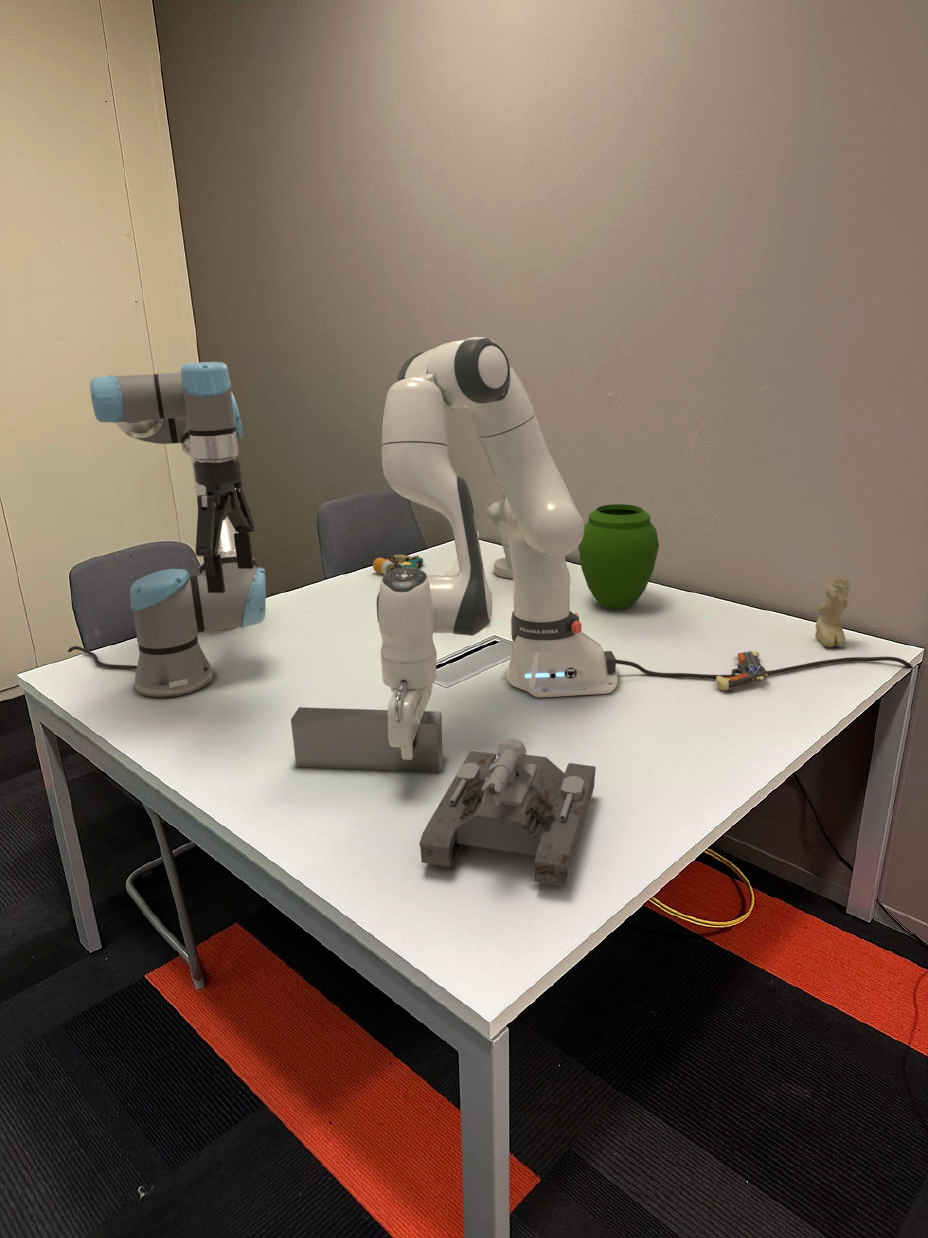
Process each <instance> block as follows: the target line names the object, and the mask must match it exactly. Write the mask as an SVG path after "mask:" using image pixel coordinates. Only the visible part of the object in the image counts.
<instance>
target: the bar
mask: <svg viewBox="0 0 928 1238" xmlns="http://www.w3.org/2000/svg"><path fill="white" fill-rule="evenodd" d="M442 717H443V716H442V711H434V710H433V711H432V710H430V711H429V710H428V711H427V710H425V711H424V713H423V716H422V719H421V721H420V725H419V728H418V730H417V733H416V736H415V738H414V741H413V746H414V755H413V758H412V759H411V760H404V759H402V753H401V748H399V747H391V746H390V744H389V741H388V709H370V708H369V709H368V708H367V709H365V708H361V709H360V708H335V707H334V708H333V707H304V706H303V707H302V706H301V707H298V708H297V709H296V711H295V712H294V714H293V715H292V717H291V719H290V724H291V725H290V726H291V732H292V733H291V734H292V742H293V743H292V744H293V751H294V761H295V768H313V769H334V770H335V769H341V770H360V771H361V770H363V771H364V770H365V771H387V772H388V771H389V772H410V773H411V772H413V773H414V772H415V773H437V774H438V773H440V772H441V769H442V766H443V761H444V744H443V743H444V742H443V718H442ZM399 722H400V721H399Z"/></svg>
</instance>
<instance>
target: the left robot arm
mask: <svg viewBox="0 0 928 1238" xmlns="http://www.w3.org/2000/svg"><path fill="white" fill-rule="evenodd" d="M89 390H90V391H89V392H90V399H91V404H92V409H93V413H94V417H95V419H96V421H98V422H100V423H113V424H116V425H117V426H118V428H119V430H121V431H122V432H123V433H124V434H125V435H127V436H128V437H130V438H132V439H136V440H138V441H143V442H145V443H151V444H157V445H159V444H161V445H170V444H172V445H174V444H181V450H182V451H183V452H184V454H186V455H188V456H189V457H190V461H191V469H192V475H193V482H194V489H195V496H196V503H197V523H196V539H195V555H196V556H197V557H203V561H202V563H200V565H199V566H198V571H199V575H192V576H191V575H190V573H189V571H188V570H186V569H184V568H168V569H162V570H158V571H155V572H151V573H149V574H147V575H146V574H145V575H144V576H142V577H140V578H137V580H136V581H134V582H133V583H132V584H131V586H130V589H129V597H130V607H129V608H130V610H131V612H132V616H133V622H134V629H135V633H136V635H135V636H136V639H137V646H138V651H139V652H138V653H139V654H138V659H137V665H132V664H131V665H130V664H111V663H104V662H101V661H100V660H99V657H98V656H97V654H96V653H94V652H92V651H90V650H88V649H86V648H84V647H81V646H79V645H73V646H70V647H69V648H68V650H67V653H72V651H74V650H77V651H81V652H82V653H85V654H87V655H89V656H91V657H92V658H93V659H94V662H95V663H96V665H98V666H100V667H104V668H110V669H126V670H127V669H128V670H136V671H135V677H134V684H135V689H136V691H137V692H138V693H139V694H140V695H143V696H146V697H149V698H173V697H179V696H184V695H188V694H191V693H194V692H196V691H199V690H201V689H203V688H205V687H206V686H208V685H209V684H210V683H211V681H212V680H213V677H214V676H213V668H212V666H211V664H210V662H209V660H208V658H207V656H206V654H205V652H204V650H203V649H202V647H201V645H200V642H199V638H198V634H200V633H207V632H215V631H222V630H230V629H238V628H241V629H244V628H246V627H250V626H255V625H260V624H262V623H263V622H264V620H265V619H266V612H267V611H266V610H267V608H266V606H267V602H266V601H267V597H266V596H267V595H266V594H267V593H266V592H267V590H266V589H267V588H266V586H267V584H266V569H265V568H264V567H258V564H257V559H256V558H255V557H253V550H252V543H251V535H250V533H254V532H255V526H254V524H255V523H254V519H253V516H252V513H251V510H250V507H249V505H248V501H247V498H246V496H245V493H244V488H243V487H244V486H243V482H242V468H241V461H240V459H239V458H237V457H238V456H239V455H240V448H239V442H238V440H240V439H242V438H243V435H244V434H243V433H244V432H243V424H242V420H241V416H240V415H241V414H240V411H239V407H238V404H237V401H236V398H235V396H234V393H233V391H232V381H231V378H230V372H229V368H228V366H227V364H226V363H224V362H222V361H202V362H201V361H200V362H189V363H184V364H183V365H182V366H181V368H180V372H167V373H166V372H165V373H154V374H153V373H151V374H132V375H131V374H129V375H113V374H112V375H111V374H109V375H107V376H98V377H93V378H92V379H91V380H90V382H89Z"/></svg>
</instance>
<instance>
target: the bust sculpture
mask: <svg viewBox="0 0 928 1238" xmlns="http://www.w3.org/2000/svg"><path fill="white" fill-rule="evenodd" d="M494 480H495V482H496V484H497V486H498V487H500V485H499V483H498V481H497V479H496V478H495V477H494ZM505 499H506V496H505V494H504V492H503V491H502V494H501V497H500V499H499V501H496V502H494V503H492V504H491V505H490V506H488V508H487V509H486V513H485V514H486V517H487V518H488V519H489V520H490V522H491V523H492V524H493V526H494V527H495V529H496V532H497V534H498V537H499V540H500V542H501V546H502V548H503V553H504V557H502V558H498V559H496V560H495V561H494V562H493V573H494V574H495V575H496V576H497V577H500V578H506V579H513V569H512V563H511V557H510V550H509V543H508V534H507V525H506V519H505V515H504V501H505Z"/></svg>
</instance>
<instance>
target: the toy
mask: <svg viewBox="0 0 928 1238" xmlns="http://www.w3.org/2000/svg"><path fill="white" fill-rule="evenodd" d="M527 752H528V751H527V748H526V745H525V744H524V743H523V742H522V741H521V740H520V739H518V738H506V739H505V740H504V741H502V742H501V743H500V744H499V745H498V748H497V753H493V752H487V751H478V750H471V751H469V752H468V754H467V756H466V757H465V759H464V761H463V763H462V764H461V765H460V766H459V768H458V770H457V772H456V774H455V776H454V778H453V780H452V781H451V783H450V785H449V787H448V788H447V790H446V791H445V794H444V795H443V797H442V799H441V800H440V802H439V804H438V806H437V807H436V809H435V811H434V812H433V814H432V816H431V817H430V819H429V821H428V823H427V824H426V826H425V828H424V830H423V832H422V833H421V837H420V840H419V842H418V843H419V844H418V845H419V848H420V858H421V863H422V864H429V865H435V866H441V867H447V868H454V866H455V864H456V863H457V860H458V858H459V856H460V854H461V852H462V850H463V848H464V846H471V847H472V846H473V847H477V848H483V849H484V848H485V849H490V850H497V851H503V852H509V853H510V852H511V853H517V854H523V855H530V856H535V858H534V882H535V883H536V882H537V883H543V884H549V885H556V886H560V887H561V886H562V887H565V886H566V884H567V880H568V879H569V875H570V873H571V869H572V865H573V862H574V859H575V855H576V852H577V848H578V845H579V843H580V842H579V841H580V838H581V834H582V831H583V828H584V825H585V821H586V817H587V814H588V811H589V807H590V804H591V801H592V797H593V793H594V789H595V782H596V768H597V766H595V765H594V766H593V765H588V764H581V763H572V762H568V763H567V766H566V768H565V771H563V770H561V769H560V768H559V767H558V766H557V765H556V764H555V763H554V762H553V761H551V760H550V758H548V757H547V756H541V755H533V754H527Z"/></svg>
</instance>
